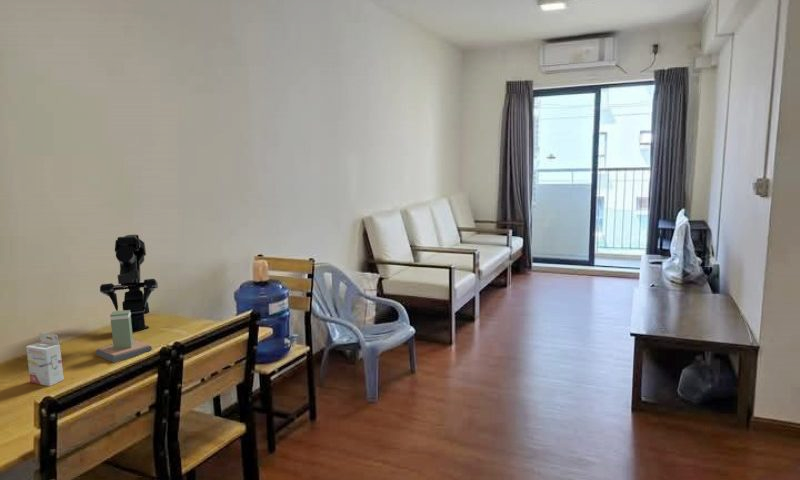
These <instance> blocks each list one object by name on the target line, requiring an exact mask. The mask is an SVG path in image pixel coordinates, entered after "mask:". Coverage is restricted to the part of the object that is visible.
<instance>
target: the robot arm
mask: <svg viewBox="0 0 800 480" xmlns="http://www.w3.org/2000/svg"><path fill="white" fill-rule="evenodd" d="M146 249H147V248H146V244H145V242H144V241H143V240H142V239H141V238H140V236H139V234H127V235H125V236H118V237H117V239H115V243H114V252H115V257H116V259H117V261H118V262H119V274H117V276H116V277H117V283H118V284H116V285H115V284H113V283H103V284H100V286H99V292H100V293H101V294H102V295H104V296H107V297H109V298H110V300H111V302H112V304H113V306H114V309H115V311H119V304H118V298H117V297H118V296H117V293H115V292H116V291H122V290H127V291H125V292H124V296H123V299H124V300H123V301H122V311H125V310H130V312H131V324H132V333H133V332H139V331H142V330H145V329H149V328H150V326H149V325H146V321H145V320H146V319H145V315H148V314H149V313H150V307H149V302H148V301H149V297H150V296H151V293H152V292H154V291H155V289H159V285H158V283H159V282H158V281H157V280H156V279H155V278H148V279H144V280H143V282H141V265H142V264H143V263H144V262H145V256H147V251H146ZM141 288H143V291H142V290H141Z"/></svg>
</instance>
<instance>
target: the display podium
mask: <svg viewBox="0 0 800 480" xmlns="http://www.w3.org/2000/svg"><path fill="white" fill-rule="evenodd" d="M152 348H153V347H152V345H150V344H147V343H144V342H141V341H140V340H136V339H134V338H133V346H132V348H126V349H117V350H114V347H113V343H112V344H110V345H107V346H106V345H105V346H102V347H98V348H97V349H95V354H96V356H98V357H101V358H103V359H105V360H107V361H110V362H112V363H114V364H115V363H117V362H121V361H125V360H127V359H132V358H135V357H137V355H138V356H140V355H139V354H141V355H143V354H142V353H145V352H148V351H151V350H152V351H153V349H152ZM152 351H151V352H152ZM148 353H149V352H148ZM145 354H146V353H145Z"/></svg>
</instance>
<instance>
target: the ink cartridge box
mask: <svg viewBox="0 0 800 480" xmlns="http://www.w3.org/2000/svg"><path fill="white" fill-rule="evenodd" d="M38 335H39V336H38V337H39V339H40V341H39V342H37V343H36V342H35V343H33V344H28V345H27V346H26V347H25V348H26V349H25V350H26V356H27V365H28V373H29V381H30V383H32V384H37V385H41V386H47V387H48V386H49V387H51V386H53V385H55V384H58V383H60V382H62V381H64V378H65V377H64V369H63V361H62V354H61V345H60V342H59V337H58V335H57V334H52V333H47V332H45V333H44V332H39V333H38ZM48 337H49V338H48Z"/></svg>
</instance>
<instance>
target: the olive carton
mask: <svg viewBox="0 0 800 480" xmlns="http://www.w3.org/2000/svg"><path fill="white" fill-rule="evenodd" d="M109 318H110V325H111V334H112V335H111V337H112V344H113V347H114V350H117V349H126V348H132V346H133V339H134V336H133V331H132V324H131V312H130V310H125V311H123V310H118V311H116V310H115V311H112V312H111V313H110V316H109Z"/></svg>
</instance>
